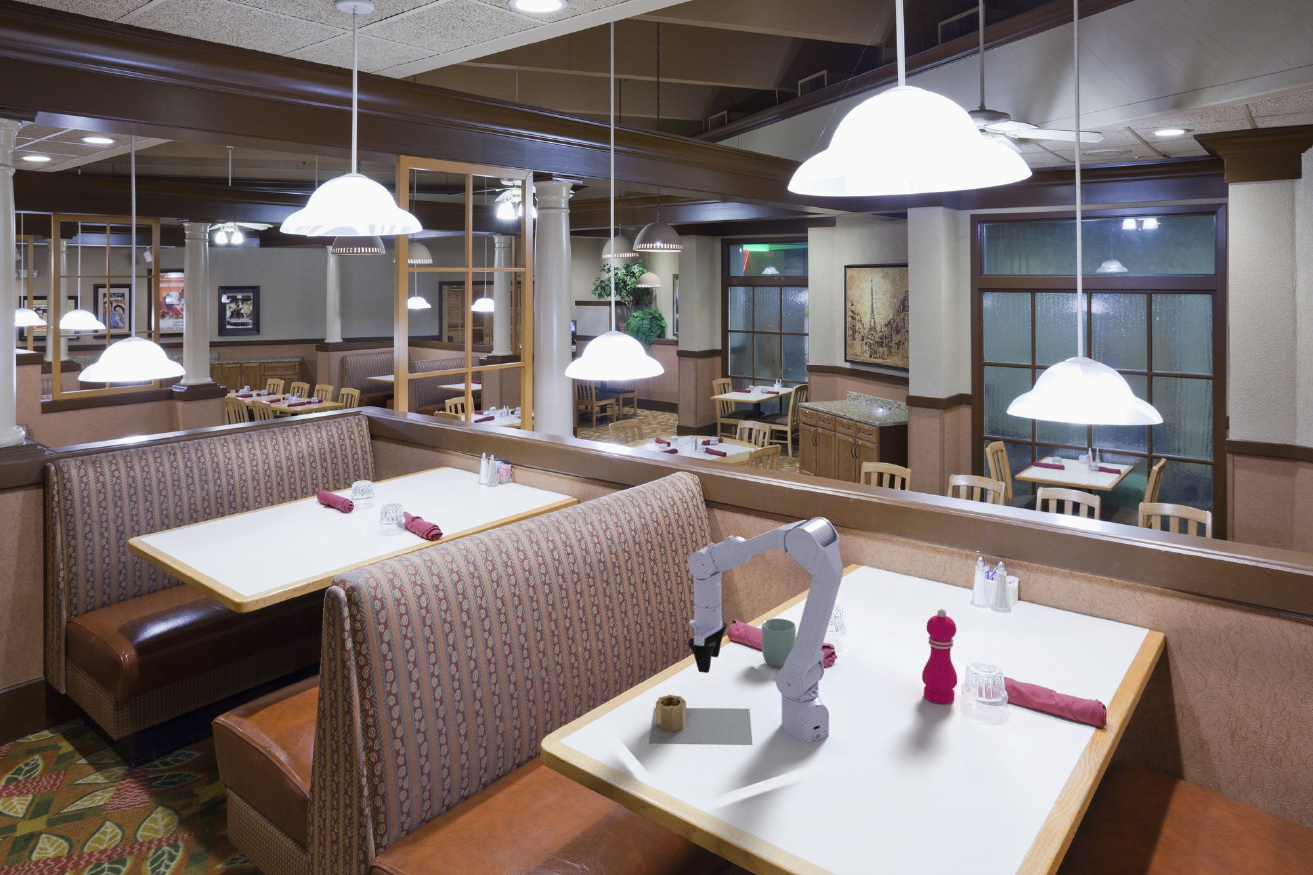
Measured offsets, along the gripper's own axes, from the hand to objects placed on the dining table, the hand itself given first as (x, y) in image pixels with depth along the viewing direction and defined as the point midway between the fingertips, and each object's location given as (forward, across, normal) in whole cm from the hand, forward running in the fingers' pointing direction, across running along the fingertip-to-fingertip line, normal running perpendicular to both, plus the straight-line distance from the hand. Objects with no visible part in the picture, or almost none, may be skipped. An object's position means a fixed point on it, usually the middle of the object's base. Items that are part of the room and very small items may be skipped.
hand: (708, 663), depth 179 cm
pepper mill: (+10, -17, +47) cm, 51 cm away
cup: (+10, -23, +11) cm, 27 cm away
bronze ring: (+8, +13, -4) cm, 16 cm away
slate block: (+9, +11, +1) cm, 15 cm away
